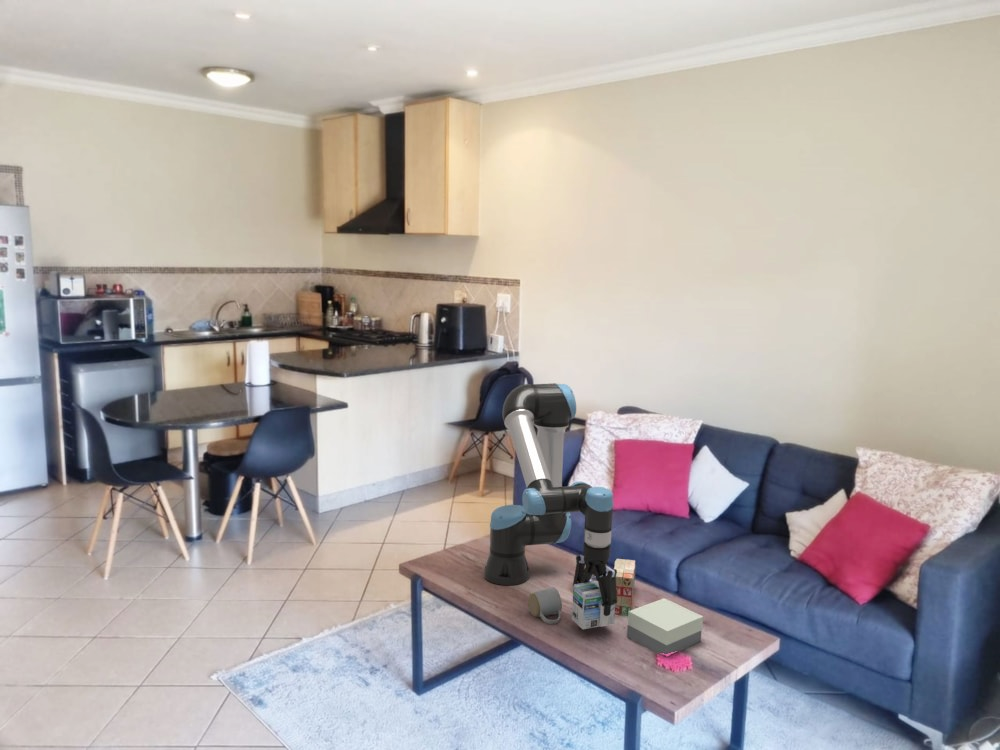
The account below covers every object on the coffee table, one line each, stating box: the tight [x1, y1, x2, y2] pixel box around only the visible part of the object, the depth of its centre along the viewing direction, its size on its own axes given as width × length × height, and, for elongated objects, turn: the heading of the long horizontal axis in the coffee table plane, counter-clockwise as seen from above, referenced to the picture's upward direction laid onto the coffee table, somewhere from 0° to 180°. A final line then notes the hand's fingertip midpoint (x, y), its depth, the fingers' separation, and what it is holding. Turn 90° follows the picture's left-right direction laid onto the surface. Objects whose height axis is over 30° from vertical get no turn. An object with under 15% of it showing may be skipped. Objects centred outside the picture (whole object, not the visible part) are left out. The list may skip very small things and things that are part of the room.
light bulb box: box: [571, 580, 616, 630], centre depth 212 cm, size 11×7×11 cm, turn 114°
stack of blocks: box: [613, 558, 636, 617], centre depth 233 cm, size 21×6×12 cm, turn 167°
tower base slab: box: [626, 624, 703, 654], centre depth 210 cm, size 14×15×4 cm
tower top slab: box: [627, 597, 704, 645], centre depth 209 cm, size 14×15×4 cm
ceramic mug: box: [527, 586, 563, 625], centre depth 221 cm, size 11×8×8 cm
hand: (593, 618), depth 213 cm, fingers closed on light bulb box, 8 cm apart
